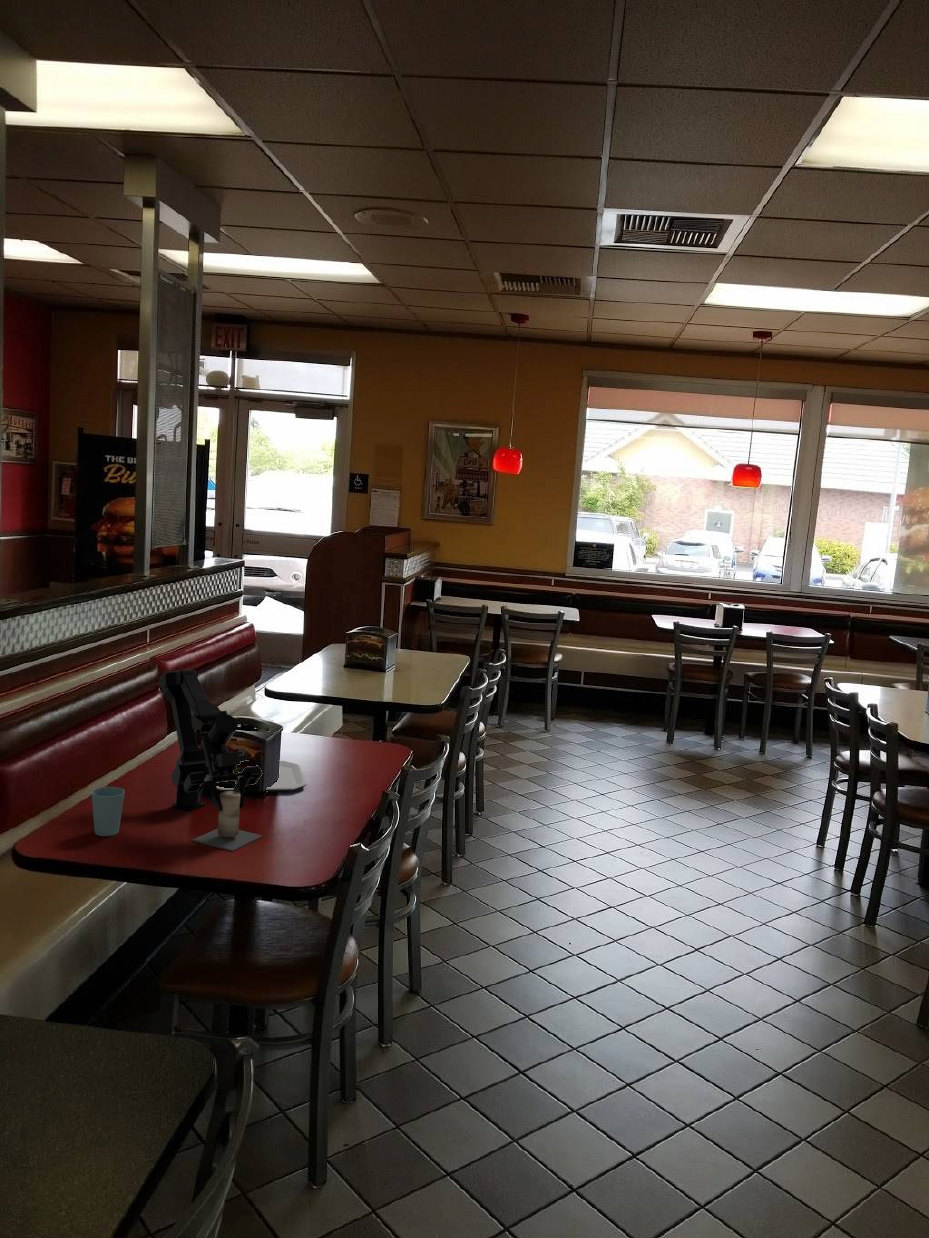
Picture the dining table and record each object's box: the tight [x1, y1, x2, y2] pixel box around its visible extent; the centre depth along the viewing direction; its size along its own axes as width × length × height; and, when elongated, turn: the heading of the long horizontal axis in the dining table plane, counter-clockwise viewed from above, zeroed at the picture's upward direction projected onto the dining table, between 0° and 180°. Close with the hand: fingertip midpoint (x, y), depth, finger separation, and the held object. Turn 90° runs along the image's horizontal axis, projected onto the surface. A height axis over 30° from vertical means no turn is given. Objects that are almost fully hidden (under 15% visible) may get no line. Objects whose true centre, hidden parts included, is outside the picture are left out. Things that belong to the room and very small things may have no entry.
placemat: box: [192, 828, 263, 853], centre depth 236 cm, size 12×12×1 cm
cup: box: [90, 786, 126, 837], centre depth 234 cm, size 8×8×10 cm
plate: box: [216, 760, 307, 793], centre depth 285 cm, size 29×29×2 cm
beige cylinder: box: [217, 791, 241, 837], centre depth 235 cm, size 5×5×10 cm
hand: (231, 809), depth 234 cm, fingers closed on beige cylinder, 5 cm apart
